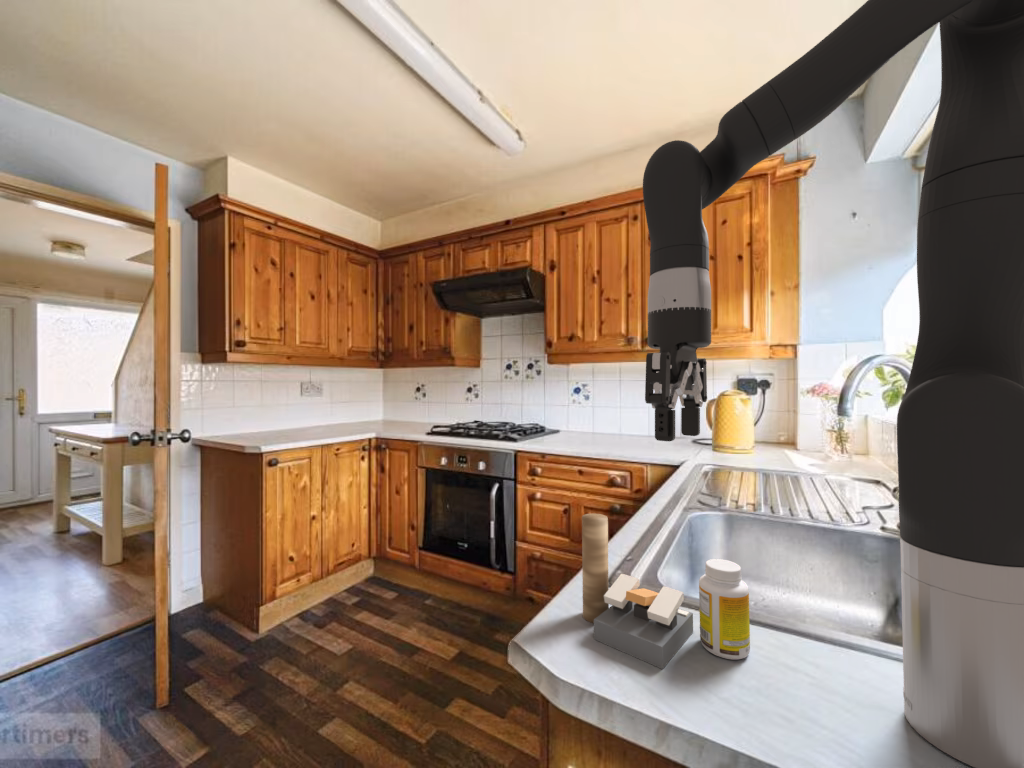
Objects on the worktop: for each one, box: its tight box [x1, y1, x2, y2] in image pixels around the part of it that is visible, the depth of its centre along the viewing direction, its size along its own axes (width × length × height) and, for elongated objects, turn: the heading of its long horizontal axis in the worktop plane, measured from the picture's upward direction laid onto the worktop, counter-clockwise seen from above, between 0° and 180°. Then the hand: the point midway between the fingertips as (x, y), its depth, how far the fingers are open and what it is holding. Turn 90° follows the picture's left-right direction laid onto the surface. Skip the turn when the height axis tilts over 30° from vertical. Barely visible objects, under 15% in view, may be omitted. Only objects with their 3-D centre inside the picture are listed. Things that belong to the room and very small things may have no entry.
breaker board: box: [593, 601, 694, 670], centre depth 56 cm, size 9×10×4 cm
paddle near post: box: [604, 573, 641, 609], centre depth 58 cm, size 3×5×1 cm, turn 138°
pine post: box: [581, 513, 610, 624], centre depth 60 cm, size 4×4×14 cm
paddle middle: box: [626, 587, 659, 607], centre depth 56 cm, size 3×5×2 cm, turn 138°
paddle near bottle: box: [647, 585, 685, 626], centre depth 54 cm, size 3×5×2 cm, turn 138°
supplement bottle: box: [698, 558, 751, 661], centre depth 53 cm, size 6×6×10 cm
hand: (678, 437), depth 54 cm, fingers open, 8 cm apart
